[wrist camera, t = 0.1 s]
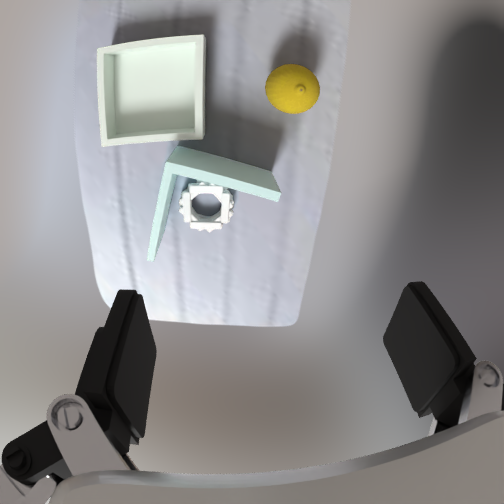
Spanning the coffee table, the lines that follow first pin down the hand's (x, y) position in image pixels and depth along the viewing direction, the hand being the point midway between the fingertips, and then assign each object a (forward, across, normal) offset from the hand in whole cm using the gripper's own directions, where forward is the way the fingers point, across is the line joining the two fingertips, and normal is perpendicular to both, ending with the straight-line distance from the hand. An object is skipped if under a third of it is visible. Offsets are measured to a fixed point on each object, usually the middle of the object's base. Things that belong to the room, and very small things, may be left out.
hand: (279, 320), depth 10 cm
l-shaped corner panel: (+29, +4, +8) cm, 30 cm away
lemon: (+29, -5, -7) cm, 30 cm away
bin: (+29, +10, -7) cm, 31 cm away
